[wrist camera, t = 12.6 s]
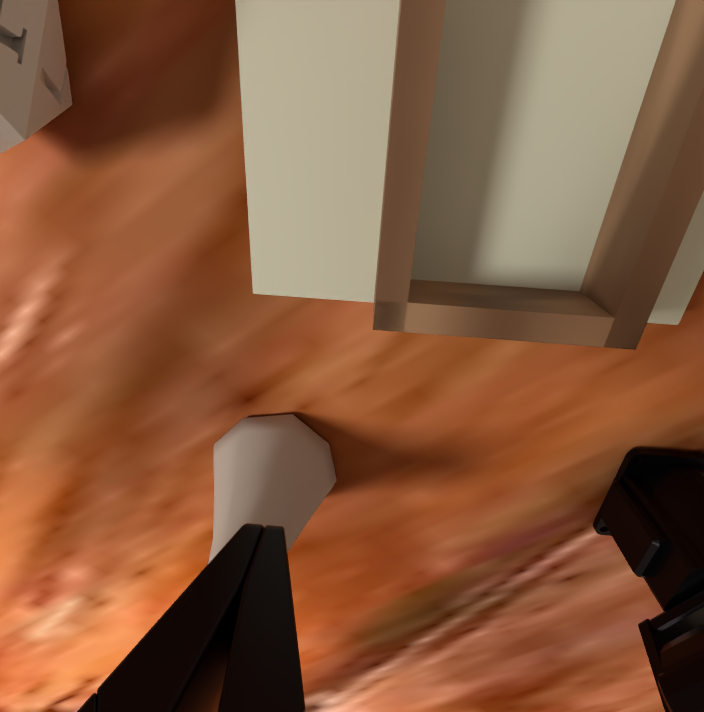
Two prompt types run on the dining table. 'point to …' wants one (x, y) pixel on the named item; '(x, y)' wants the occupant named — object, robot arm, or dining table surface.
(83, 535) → the dining table surface
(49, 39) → the die
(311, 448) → the flask
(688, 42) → the cubby
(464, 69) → the board
